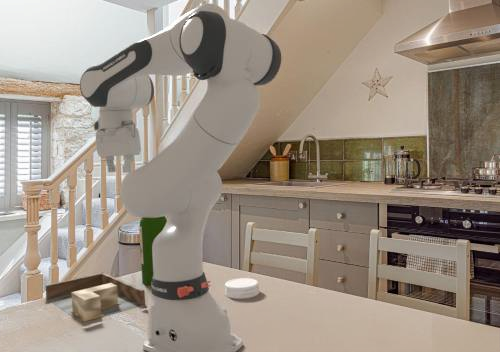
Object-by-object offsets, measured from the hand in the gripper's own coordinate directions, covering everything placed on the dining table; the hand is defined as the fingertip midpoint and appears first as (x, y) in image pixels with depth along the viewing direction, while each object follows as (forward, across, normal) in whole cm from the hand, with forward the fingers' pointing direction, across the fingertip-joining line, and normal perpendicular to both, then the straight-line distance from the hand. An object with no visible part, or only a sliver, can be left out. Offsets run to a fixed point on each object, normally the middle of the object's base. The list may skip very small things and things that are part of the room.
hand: (119, 172), depth 119 cm
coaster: (+38, -19, -27) cm, 50 cm away
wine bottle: (+37, +10, -16) cm, 42 cm away
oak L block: (+36, -2, +8) cm, 37 cm away
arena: (+37, +6, +7) cm, 38 cm away
